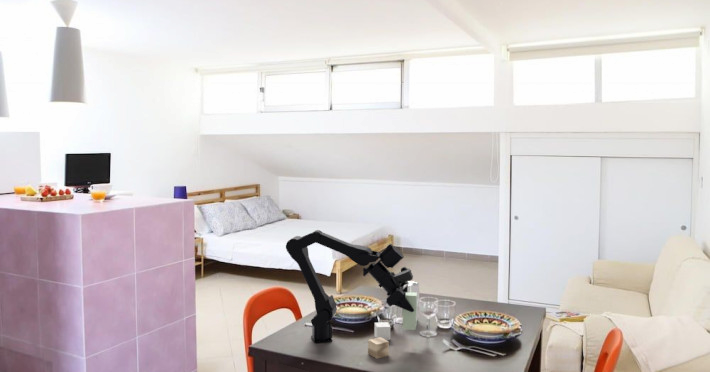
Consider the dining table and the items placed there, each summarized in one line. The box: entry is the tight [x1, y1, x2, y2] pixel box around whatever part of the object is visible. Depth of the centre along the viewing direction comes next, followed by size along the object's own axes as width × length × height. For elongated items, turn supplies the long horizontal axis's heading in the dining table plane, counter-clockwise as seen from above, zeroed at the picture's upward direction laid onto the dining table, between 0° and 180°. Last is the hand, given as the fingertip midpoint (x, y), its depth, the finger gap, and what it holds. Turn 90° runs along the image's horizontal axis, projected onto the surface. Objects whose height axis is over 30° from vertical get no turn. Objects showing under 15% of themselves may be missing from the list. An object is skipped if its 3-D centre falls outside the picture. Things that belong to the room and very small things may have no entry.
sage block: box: [402, 292, 418, 331], centre depth 194 cm, size 4×4×12 cm
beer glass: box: [403, 281, 420, 322], centre depth 224 cm, size 7×7×15 cm
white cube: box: [373, 321, 391, 341], centre depth 204 cm, size 5×5×5 cm
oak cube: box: [367, 337, 390, 360], centre depth 187 cm, size 5×5×5 cm
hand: (413, 309), depth 194 cm, fingers closed on sage block, 4 cm apart
